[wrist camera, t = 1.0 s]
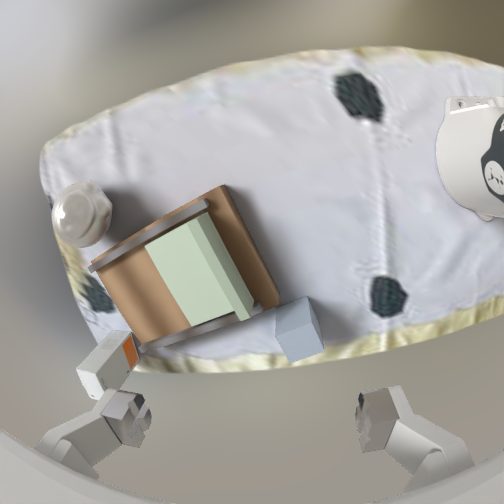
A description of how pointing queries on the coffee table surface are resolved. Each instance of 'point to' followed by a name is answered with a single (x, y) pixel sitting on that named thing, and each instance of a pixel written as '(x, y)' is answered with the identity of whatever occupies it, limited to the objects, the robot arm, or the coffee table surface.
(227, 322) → the wooden box frame
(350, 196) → the coffee table surface
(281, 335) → the block
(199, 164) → the coffee table surface
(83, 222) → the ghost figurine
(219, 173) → the coffee table surface
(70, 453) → the robot arm
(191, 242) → the lid
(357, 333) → the coffee table surface
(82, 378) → the skincare box
